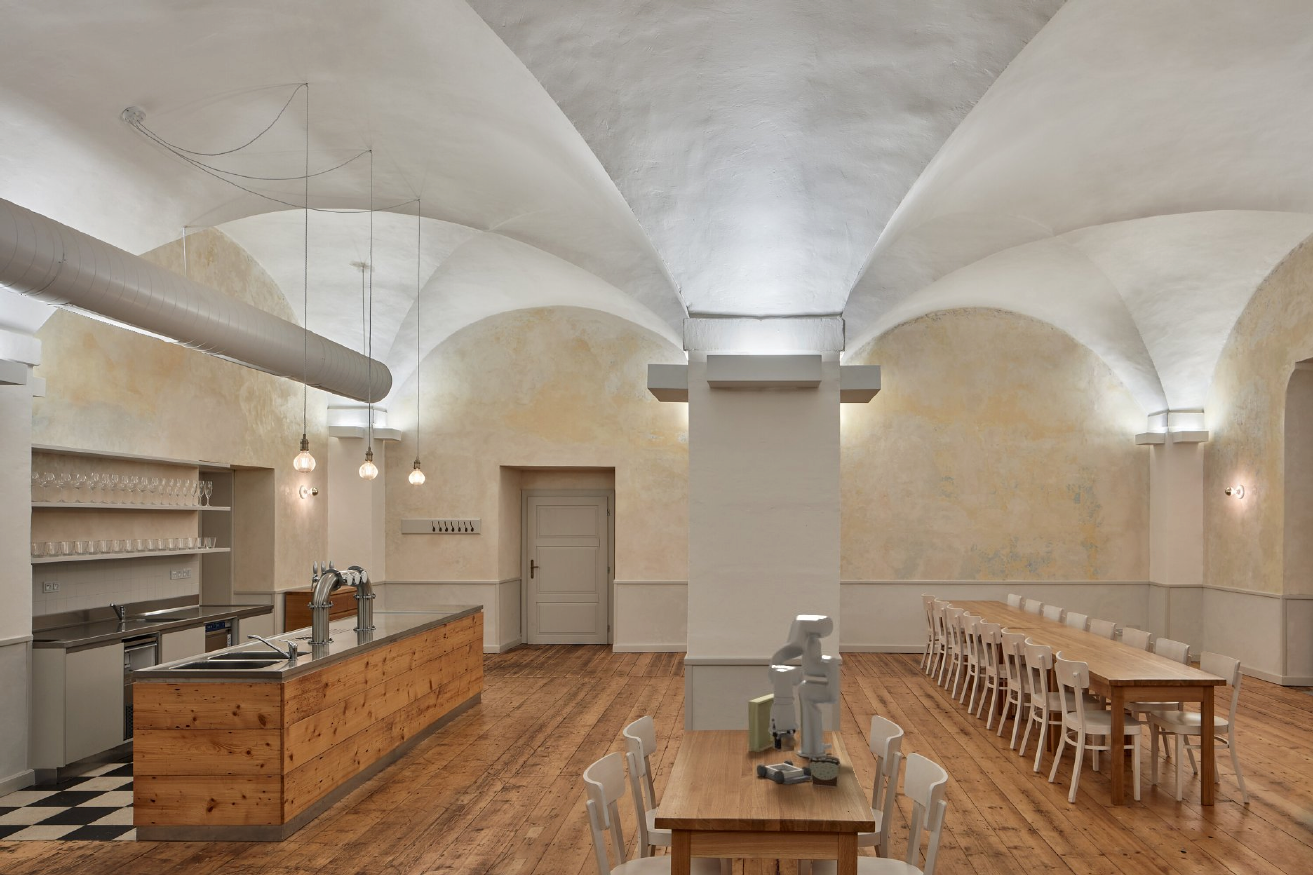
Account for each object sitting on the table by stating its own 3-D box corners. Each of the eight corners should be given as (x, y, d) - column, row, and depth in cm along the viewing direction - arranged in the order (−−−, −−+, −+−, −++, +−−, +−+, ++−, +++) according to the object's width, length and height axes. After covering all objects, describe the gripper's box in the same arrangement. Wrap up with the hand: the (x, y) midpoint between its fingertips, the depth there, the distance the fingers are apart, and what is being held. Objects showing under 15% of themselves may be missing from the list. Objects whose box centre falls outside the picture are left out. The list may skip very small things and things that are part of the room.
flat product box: (785, 736, 438) (784, 689, 440) (794, 738, 435) (793, 690, 437) (748, 750, 409) (748, 700, 411) (757, 752, 406) (757, 701, 409)
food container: (843, 783, 356) (842, 756, 357) (841, 787, 351) (840, 760, 352) (811, 780, 360) (810, 754, 361) (808, 784, 355) (808, 757, 356)
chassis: (784, 769, 377) (784, 758, 377) (813, 779, 361) (813, 768, 362) (754, 774, 369) (754, 763, 369) (783, 785, 354) (783, 773, 354)
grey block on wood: (782, 746, 370) (782, 731, 371) (794, 750, 364) (793, 734, 365) (772, 748, 368) (772, 732, 368) (784, 751, 362) (783, 735, 362)
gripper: (793, 697, 376) (794, 743, 374) (760, 700, 367) (760, 748, 365) (805, 700, 369) (806, 747, 367) (772, 703, 360) (772, 752, 358)
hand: (783, 747), depth 366 cm, fingers closed on grey block on wood, 5 cm apart
